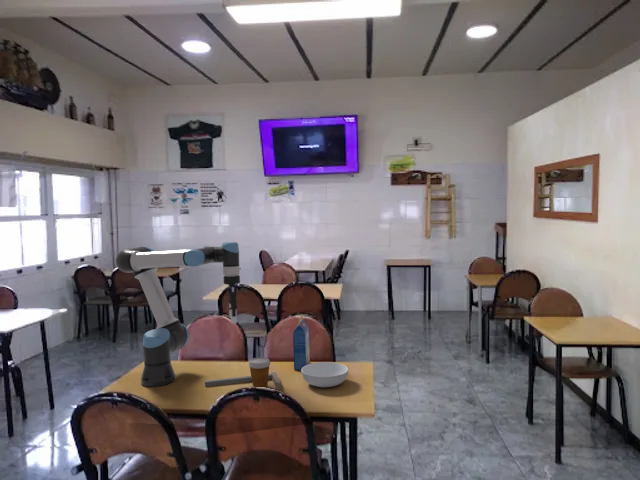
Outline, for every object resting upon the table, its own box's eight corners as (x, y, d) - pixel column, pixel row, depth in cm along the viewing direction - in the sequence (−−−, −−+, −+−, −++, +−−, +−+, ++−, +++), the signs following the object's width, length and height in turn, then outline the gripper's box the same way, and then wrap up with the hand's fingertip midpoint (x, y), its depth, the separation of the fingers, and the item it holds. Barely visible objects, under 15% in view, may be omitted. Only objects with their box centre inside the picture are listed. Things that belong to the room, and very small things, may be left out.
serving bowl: (345, 393, 203) (345, 377, 203) (296, 391, 207) (296, 375, 207) (351, 376, 224) (351, 362, 223) (307, 375, 228) (306, 360, 227)
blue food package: (293, 370, 235) (292, 319, 234) (297, 362, 247) (296, 314, 245) (306, 370, 234) (305, 319, 233) (310, 362, 246) (308, 314, 245)
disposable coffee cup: (253, 393, 207) (252, 365, 206) (246, 386, 215) (245, 359, 214) (274, 388, 211) (273, 361, 210) (266, 382, 219) (265, 356, 219)
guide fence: (205, 397, 202) (204, 390, 202) (205, 385, 218) (204, 378, 218) (280, 389, 210) (280, 382, 210) (275, 377, 225) (275, 371, 225)
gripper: (241, 278, 215) (243, 325, 216) (237, 271, 239) (239, 314, 240) (224, 279, 213) (226, 326, 214) (222, 272, 238) (224, 315, 239)
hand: (233, 320), depth 227 cm, fingers open, 13 cm apart
